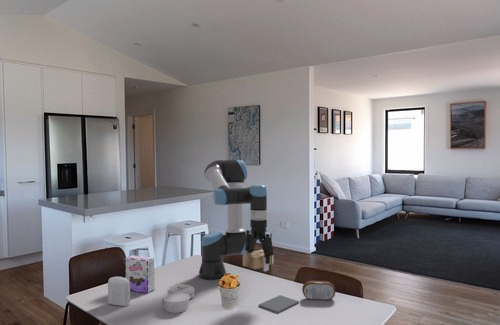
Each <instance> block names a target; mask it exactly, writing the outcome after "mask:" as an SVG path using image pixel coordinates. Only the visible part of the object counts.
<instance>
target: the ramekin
mask: <svg viewBox="0 0 500 325" xmlns="http://www.w3.org/2000/svg"><path fill="white" fill-rule="evenodd" d="M190 299H191V298H190V296H189V295H188V294H186V293H173V294H169V295H168V294H167V295H165V296H164V297H163V303H164V305H165V306H164V307H165V310H166V311H167V312H168V313H170V314H179V313H183V312H185V311H187V309H189V304H190Z"/></svg>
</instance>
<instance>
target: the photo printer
mask: <svg viewBox="0 0 500 325" xmlns="http://www.w3.org/2000/svg"><path fill="white" fill-rule="evenodd" d="M107 303H108V304H109V305H114V306H119V307H120V306H121V307H128V306H129V305H130V304H131V291H130V281H129V280H128V279H126V277H122V276H112V277H110V278H109V279H108V282H107Z"/></svg>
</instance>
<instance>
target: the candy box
mask: <svg viewBox="0 0 500 325" xmlns="http://www.w3.org/2000/svg"><path fill="white" fill-rule="evenodd" d="M124 261H125V262H124V263H125V278H126V279H128V280H129V281H130V292H137V293H142V294H150V293H152V292H153V291H155V290H156V288H155V257H148V256H140V255H129V256H127V257H125V260H124Z"/></svg>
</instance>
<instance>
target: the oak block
mask: <svg viewBox="0 0 500 325" xmlns="http://www.w3.org/2000/svg"><path fill="white" fill-rule="evenodd" d="M264 256H265V255H264V251H263V249H259V250H254V252H250V253H248V252H247V253H245V254H242V266H243V267H246V268H250V269H254V270H257V269H261V268H264V260H263V257H264ZM274 262H275V261H274V252H273V255H272V256H270V263H269V266H270V265H273V264H274Z"/></svg>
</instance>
